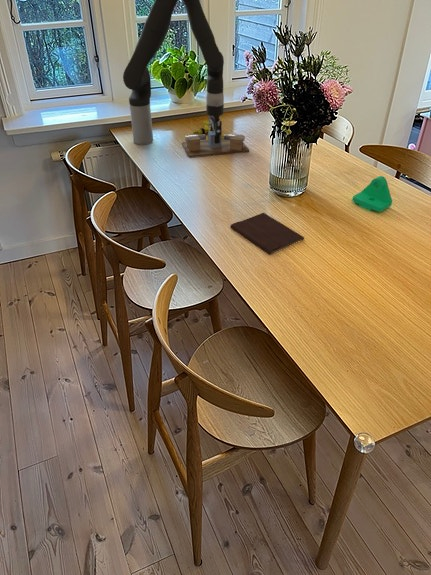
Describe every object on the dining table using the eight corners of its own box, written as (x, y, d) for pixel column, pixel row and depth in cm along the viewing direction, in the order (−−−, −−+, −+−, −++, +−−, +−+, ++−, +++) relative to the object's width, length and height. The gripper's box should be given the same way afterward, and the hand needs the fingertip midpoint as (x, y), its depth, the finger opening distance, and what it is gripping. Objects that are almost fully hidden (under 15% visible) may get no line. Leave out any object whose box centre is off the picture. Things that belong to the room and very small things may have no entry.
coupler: (208, 144, 207) (208, 131, 203) (218, 143, 208) (218, 130, 204) (210, 148, 203) (210, 135, 199) (221, 147, 204) (221, 134, 200)
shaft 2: (225, 138, 203) (225, 133, 202) (244, 140, 202) (244, 134, 200) (224, 140, 201) (224, 135, 200) (243, 142, 200) (244, 136, 199)
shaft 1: (185, 140, 201) (185, 135, 200) (204, 138, 203) (204, 133, 202) (186, 142, 200) (186, 137, 198) (205, 140, 201) (205, 135, 200)
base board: (181, 144, 209) (181, 131, 205) (239, 139, 214) (239, 126, 211) (188, 157, 197) (188, 144, 193) (249, 151, 202) (249, 138, 199)
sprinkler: (185, 122, 220) (209, 116, 226) (184, 130, 222) (209, 123, 229) (207, 139, 209) (233, 132, 216) (207, 147, 212) (232, 139, 219)
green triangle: (350, 203, 165) (356, 177, 159) (362, 196, 169) (367, 171, 163) (379, 215, 158) (386, 188, 152) (390, 208, 162) (397, 181, 156)
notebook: (263, 216, 158) (264, 211, 157) (303, 240, 146) (304, 235, 144) (230, 229, 151) (230, 224, 150) (269, 256, 139) (269, 250, 137)
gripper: (202, 98, 198) (203, 135, 208) (210, 108, 187) (210, 146, 197) (219, 97, 199) (219, 133, 209) (227, 107, 188) (226, 145, 199)
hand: (214, 139), depth 203 cm, fingers open, 8 cm apart
